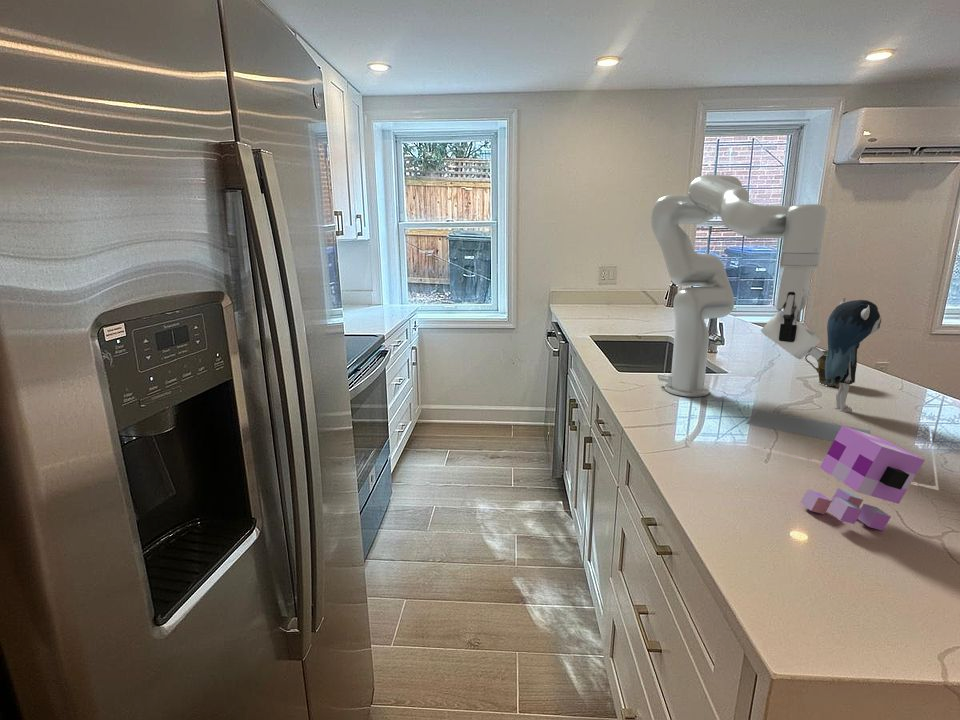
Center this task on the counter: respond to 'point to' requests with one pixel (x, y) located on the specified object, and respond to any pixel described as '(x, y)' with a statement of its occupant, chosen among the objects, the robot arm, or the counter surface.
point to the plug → (803, 338)
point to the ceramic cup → (822, 369)
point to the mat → (797, 425)
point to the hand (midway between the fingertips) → (788, 339)
